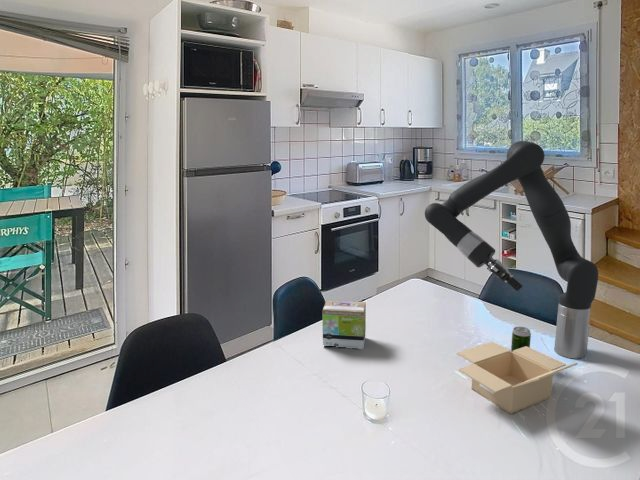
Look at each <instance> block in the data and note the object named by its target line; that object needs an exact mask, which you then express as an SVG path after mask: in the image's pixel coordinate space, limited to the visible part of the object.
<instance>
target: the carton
mask: <svg viewBox="0 0 640 480" xmlns="http://www.w3.org/2000/svg"><path fill="white" fill-rule="evenodd" d="M456 355H457V356H459V357H462V358H463V359H465V360H467V361H468V362H470V363H472V364H469V365H466V366H463V367H460V368H458V371H459V372H461V373H462V374H464V375H465V376H467V377H468V378H470V379H471V390H472V391H474V392H475V393H477V394H478V395H480V396H481V397H483V398H485V399H487V400H488V401H489V402H491V403H492V404H494V405H496V406H498V407H499V408H501V409H502V410H504V411H506V412H507V413H508V414H510V415H514V414H515V413H518V412H520V411H523V410H525V409H528V408H530V407H532V406H534V405H537V404H539V403H542V402H543V401H545V400H548V399H550V398H552V391H553V390H552V389H553V382H554V374H552V375H550V376H547V377H545V378H542V379H540V380H536V381H533V382H530V383H527V384H523V385H520V386H517V387H515V385H517V384H520V383H522V382H525V381H527V380H530V379H532V378H535V377H537V376H540V375H543V374H545V373H548V372H550V371H553V370H556V369H559V368H562V367H565V366H567V364H566V363H564V362H562V361H560V360H558V359H555V358H553V357H551V356H549V355H546V354H545V353H542V352H540V351H538V350H536V349H534V348H531V347H530V348H529V347H527V346H525V347H522V348H519V349H516V350H513V352H512V351H511V349H508V348H507V347H504V346H502V345H501V344H498V343H496V342H494V341H489V342H486V343H483V344H480V345H479V344H478V345H477V346H473V347H470V348H467V349H464V350H460V351H457V352H456Z"/></svg>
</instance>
